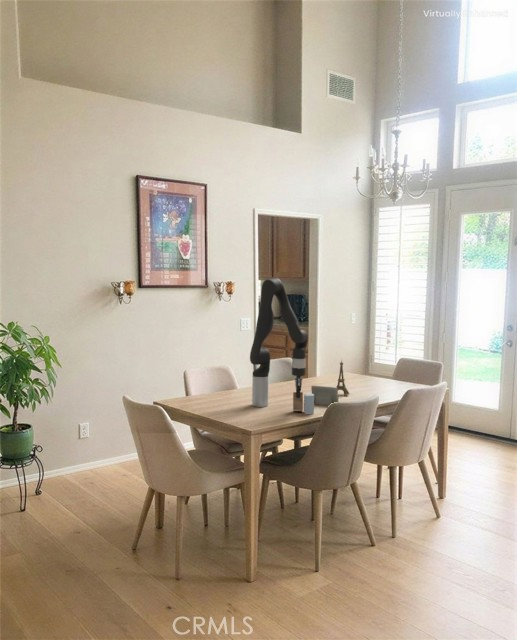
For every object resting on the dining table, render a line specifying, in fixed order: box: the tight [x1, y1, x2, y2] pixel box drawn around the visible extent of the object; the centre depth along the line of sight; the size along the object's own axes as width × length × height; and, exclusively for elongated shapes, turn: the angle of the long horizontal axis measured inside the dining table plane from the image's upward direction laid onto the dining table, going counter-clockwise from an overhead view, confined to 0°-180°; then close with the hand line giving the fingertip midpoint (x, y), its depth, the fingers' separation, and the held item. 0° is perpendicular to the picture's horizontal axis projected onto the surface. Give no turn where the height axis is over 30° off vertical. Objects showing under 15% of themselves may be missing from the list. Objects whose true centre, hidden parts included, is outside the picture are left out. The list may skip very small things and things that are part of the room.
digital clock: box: [310, 385, 339, 406], centre depth 329 cm, size 16×9×11 cm, turn 56°
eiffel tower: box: [335, 359, 351, 398], centre depth 357 cm, size 11×11×25 cm
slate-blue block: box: [303, 393, 315, 415], centre depth 305 cm, size 5×5×10 cm
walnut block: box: [292, 391, 304, 412], centre depth 307 cm, size 5×5×10 cm
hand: (298, 397), depth 304 cm, fingers closed
